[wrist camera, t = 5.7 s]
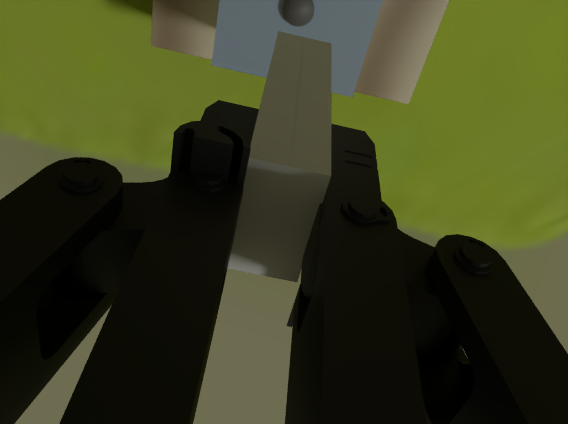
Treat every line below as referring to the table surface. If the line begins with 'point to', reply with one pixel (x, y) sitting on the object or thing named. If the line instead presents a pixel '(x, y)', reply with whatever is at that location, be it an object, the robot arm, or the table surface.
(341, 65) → the grey block
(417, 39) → the wooden block tray
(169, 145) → the table surface
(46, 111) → the table surface
